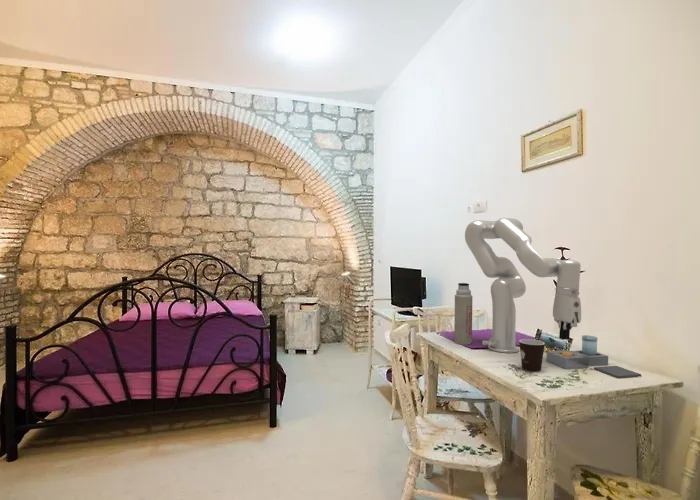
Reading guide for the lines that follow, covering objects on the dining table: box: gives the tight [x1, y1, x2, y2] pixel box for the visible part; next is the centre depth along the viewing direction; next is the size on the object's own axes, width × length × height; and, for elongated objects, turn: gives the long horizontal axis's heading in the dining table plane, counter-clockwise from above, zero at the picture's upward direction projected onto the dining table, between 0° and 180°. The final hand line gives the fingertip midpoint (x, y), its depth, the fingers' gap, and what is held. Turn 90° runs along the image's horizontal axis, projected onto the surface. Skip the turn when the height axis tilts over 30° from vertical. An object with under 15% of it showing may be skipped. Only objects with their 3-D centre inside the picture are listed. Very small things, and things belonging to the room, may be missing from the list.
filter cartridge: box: [581, 334, 598, 356], centre depth 153 cm, size 5×5×10 cm
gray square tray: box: [572, 349, 609, 367], centre depth 153 cm, size 9×9×4 cm
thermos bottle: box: [453, 282, 473, 346], centre depth 182 cm, size 8×8×28 cm
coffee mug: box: [518, 338, 545, 373], centre depth 145 cm, size 12×9×10 cm
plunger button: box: [562, 352, 572, 356], centre depth 150 cm, size 4×4×4 cm
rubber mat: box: [593, 365, 642, 379], centre depth 140 cm, size 10×10×1 cm
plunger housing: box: [546, 349, 589, 370], centre depth 150 cm, size 10×10×4 cm
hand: (564, 338), depth 150 cm, fingers closed
